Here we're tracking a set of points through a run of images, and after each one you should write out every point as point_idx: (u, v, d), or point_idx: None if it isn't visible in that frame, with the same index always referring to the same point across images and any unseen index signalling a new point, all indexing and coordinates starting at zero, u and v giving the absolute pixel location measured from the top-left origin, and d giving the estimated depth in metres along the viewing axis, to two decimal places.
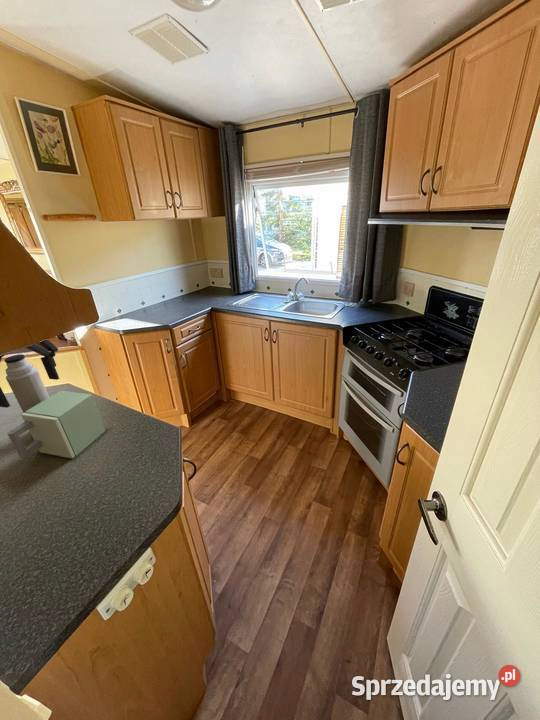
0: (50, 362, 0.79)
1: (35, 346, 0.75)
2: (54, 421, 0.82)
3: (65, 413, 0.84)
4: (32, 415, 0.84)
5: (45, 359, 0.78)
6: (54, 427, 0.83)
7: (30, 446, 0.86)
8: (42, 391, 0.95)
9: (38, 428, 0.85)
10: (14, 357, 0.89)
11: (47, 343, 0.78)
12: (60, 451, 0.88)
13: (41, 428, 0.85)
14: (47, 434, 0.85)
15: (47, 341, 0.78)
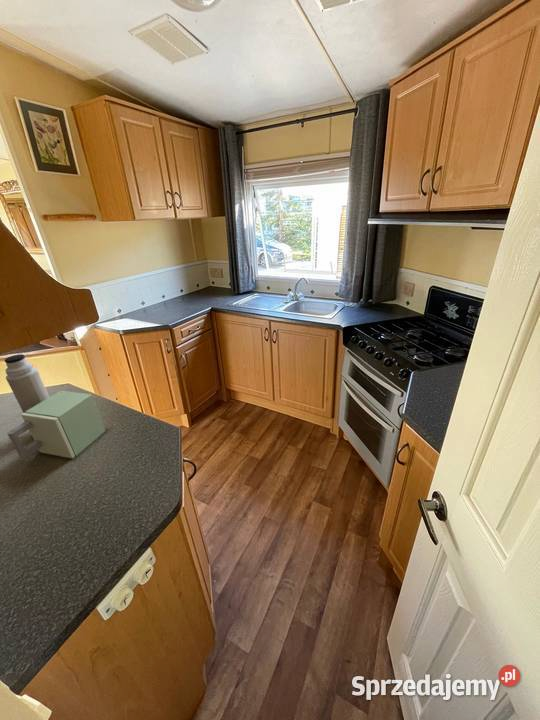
0: None
1: None
2: (54, 421, 0.82)
3: (65, 413, 0.84)
4: (32, 415, 0.84)
5: None
6: (54, 427, 0.83)
7: (30, 446, 0.86)
8: (42, 391, 0.95)
9: (38, 428, 0.85)
10: (14, 357, 0.89)
11: None
12: (60, 451, 0.88)
13: (41, 428, 0.85)
14: (47, 434, 0.85)
15: None
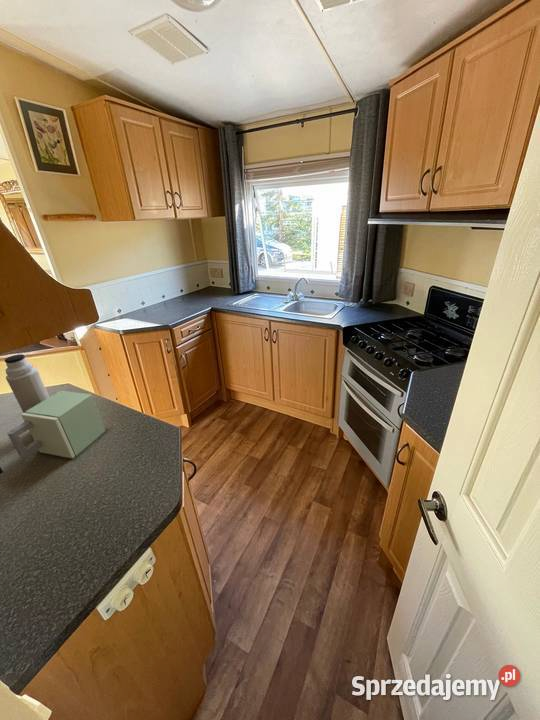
0: None
1: None
2: (54, 421, 0.82)
3: (65, 413, 0.84)
4: (32, 415, 0.84)
5: None
6: (54, 427, 0.83)
7: (30, 446, 0.86)
8: (42, 391, 0.95)
9: (38, 428, 0.85)
10: (14, 357, 0.89)
11: None
12: (60, 451, 0.88)
13: (41, 428, 0.85)
14: (47, 434, 0.85)
15: None
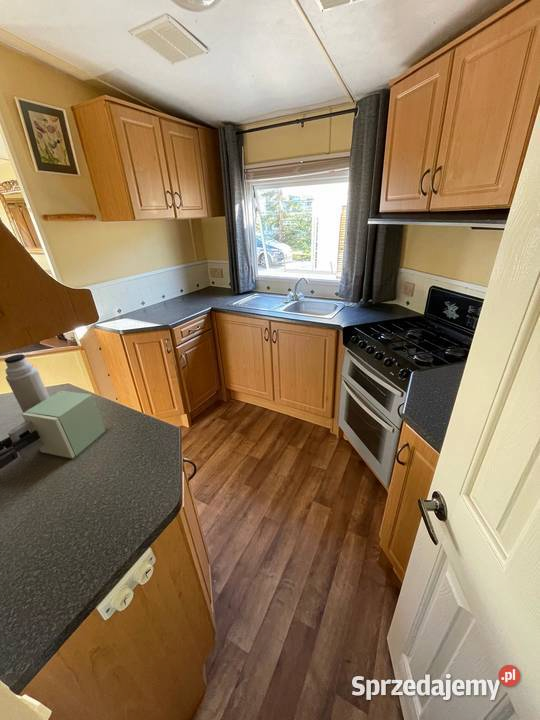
0: None
1: None
2: (54, 421, 0.82)
3: (65, 413, 0.84)
4: (32, 415, 0.84)
5: None
6: (54, 427, 0.83)
7: (30, 446, 0.86)
8: (42, 391, 0.95)
9: (38, 428, 0.85)
10: (14, 357, 0.89)
11: None
12: (60, 451, 0.88)
13: (41, 428, 0.85)
14: (47, 434, 0.86)
15: None
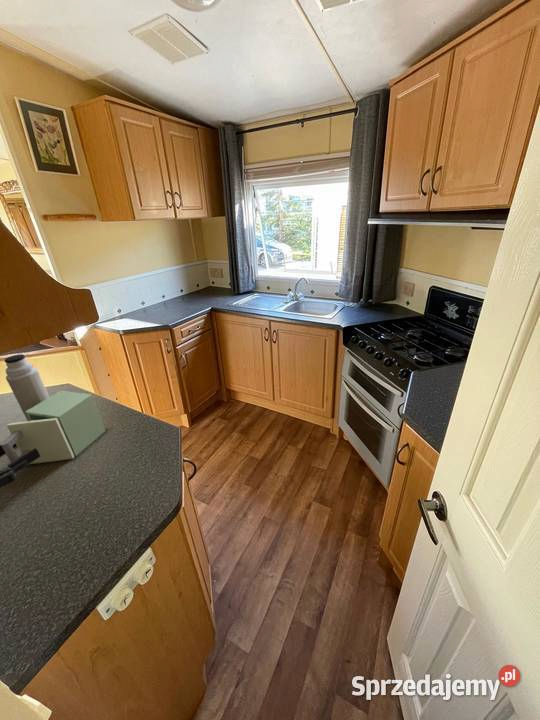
0: None
1: None
2: (54, 421, 0.82)
3: (65, 413, 0.84)
4: (22, 422, 0.81)
5: None
6: (53, 428, 0.82)
7: None
8: (42, 391, 0.95)
9: (30, 435, 0.82)
10: (14, 357, 0.89)
11: None
12: (57, 454, 0.86)
13: (34, 434, 0.82)
14: (42, 439, 0.83)
15: None
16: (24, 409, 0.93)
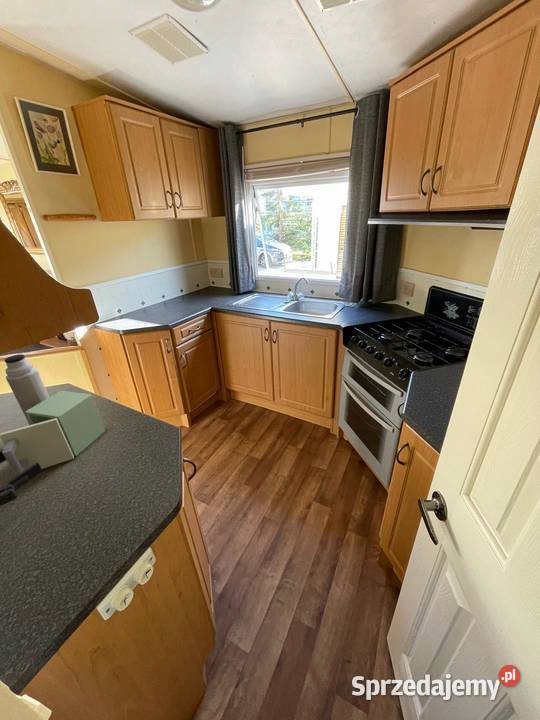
0: None
1: None
2: (55, 422, 0.82)
3: (65, 413, 0.84)
4: (18, 429, 0.78)
5: None
6: (53, 429, 0.82)
7: (21, 465, 0.79)
8: (42, 391, 0.95)
9: (26, 442, 0.80)
10: (14, 357, 0.89)
11: None
12: (56, 457, 0.85)
13: (31, 440, 0.80)
14: (40, 443, 0.82)
15: None
16: (24, 409, 0.93)
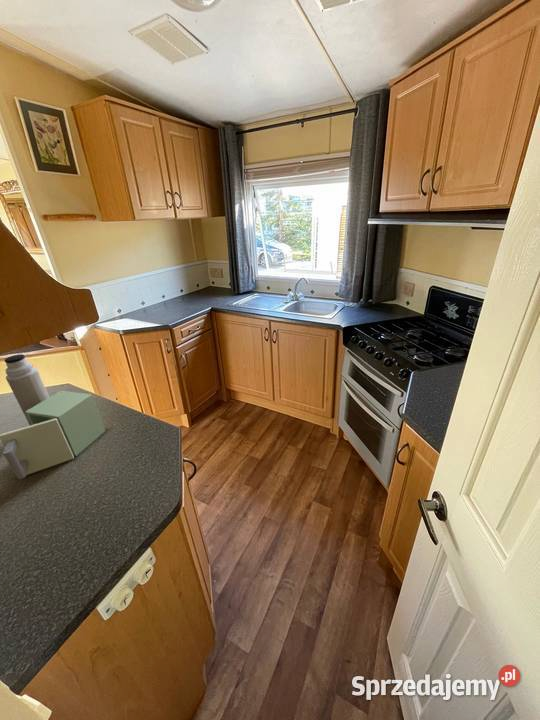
0: None
1: None
2: (55, 422, 0.82)
3: (65, 413, 0.84)
4: (17, 430, 0.78)
5: None
6: (53, 429, 0.82)
7: (22, 465, 0.79)
8: (42, 391, 0.95)
9: (26, 443, 0.80)
10: (14, 357, 0.89)
11: None
12: (56, 458, 0.85)
13: (31, 440, 0.80)
14: (40, 444, 0.82)
15: None
16: (24, 409, 0.93)
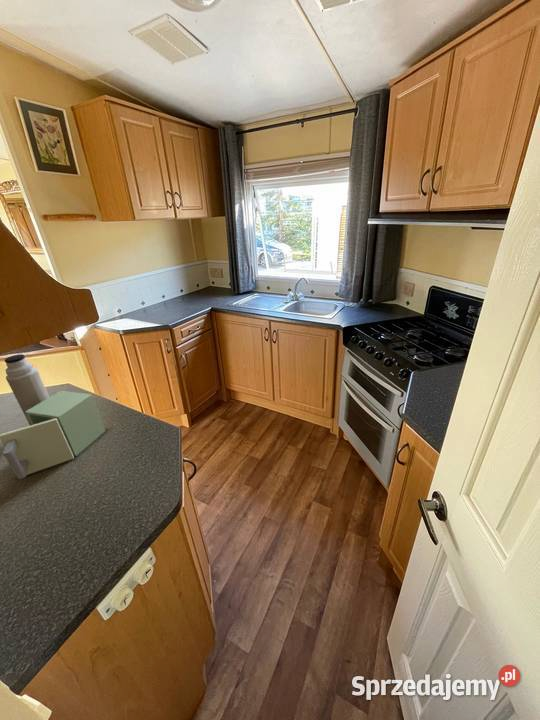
0: None
1: None
2: (55, 422, 0.82)
3: (65, 413, 0.84)
4: (17, 430, 0.78)
5: None
6: (53, 429, 0.82)
7: (22, 465, 0.79)
8: (42, 391, 0.95)
9: (26, 443, 0.80)
10: (14, 357, 0.89)
11: None
12: (56, 458, 0.85)
13: (31, 440, 0.80)
14: (40, 444, 0.82)
15: None
16: (24, 409, 0.93)
